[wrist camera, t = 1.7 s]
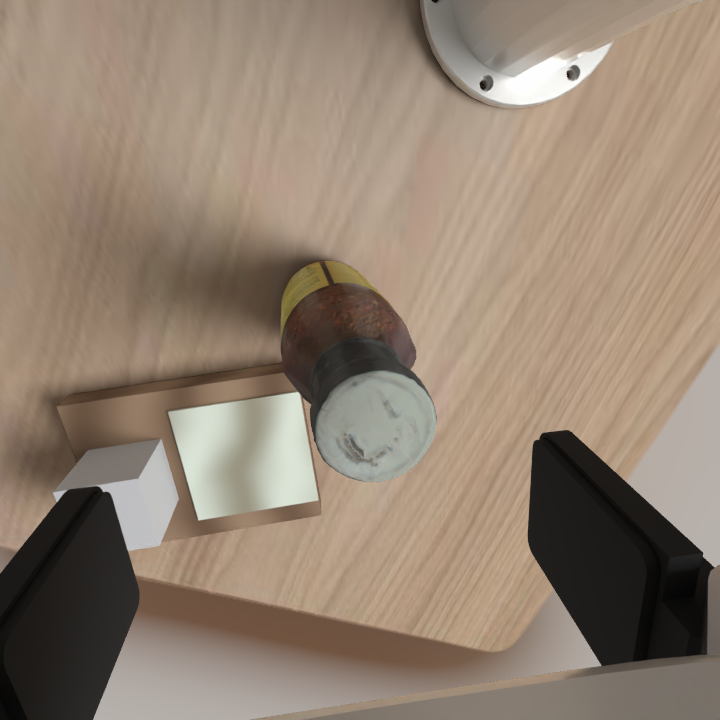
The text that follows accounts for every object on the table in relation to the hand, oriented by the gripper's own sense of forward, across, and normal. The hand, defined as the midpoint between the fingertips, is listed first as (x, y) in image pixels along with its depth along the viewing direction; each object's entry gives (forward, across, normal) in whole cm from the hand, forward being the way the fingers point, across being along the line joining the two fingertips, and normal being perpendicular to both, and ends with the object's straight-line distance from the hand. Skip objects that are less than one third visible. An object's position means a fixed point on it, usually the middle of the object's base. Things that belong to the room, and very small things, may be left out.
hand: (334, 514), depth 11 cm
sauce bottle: (+25, -1, +1) cm, 25 cm away
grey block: (+22, +14, +11) cm, 29 cm away
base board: (+24, +10, +11) cm, 28 cm away
